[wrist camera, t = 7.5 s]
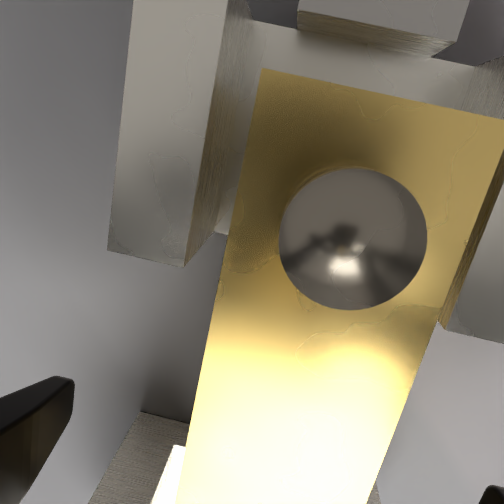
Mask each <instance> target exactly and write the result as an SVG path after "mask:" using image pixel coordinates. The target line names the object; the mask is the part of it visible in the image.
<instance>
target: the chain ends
mask: <svg viewBox="0 0 504 504" xmlns="http://www.w3.org/2000/svg"><path fill="white" fill-rule="evenodd" d="M469 2H470V0H299V4H298V8H297V29H293V28H288V27H283V26H279V25H274V24H269V23H264V22H260V21H255V20H253V18H252V15H251V12H250V9H249V7H248V4H247V1H246V0H133V10H132V19H131V29H130V38H129V47H128V57H127V66H126V76H125V85H124V95H123V104H122V113H121V123H120V132H119V142H118V151H117V160H116V170H115V179H114V189H113V198H112V208H111V217H110V226H109V236H108V245H107V250H109V251H113V252H117V253H121V254H126V255H130V256H134V257H138V258H143V259H147V260H151V261H155V262H160V263H164V264H168V265H172V266H176V267H181V268H183V267H184V266H185V265H186V264H187V263H188V262H189V260H190V259H191V258H192V257H193V256H194V254H195V253H196V252H197V251H198V250H199V249H200V247H201V246H202V245H203V244H204V243H205V242H206V240H207V239H208V238H209V237H210V236H211V234H212V233H213V232H217V233H221V234H226V235H228V234H229V229H230V224H231V219H232V214H233V209H234V204H235V199H236V194H237V189H238V184H239V179H240V174H241V169H242V164H243V159H244V154H245V149H246V144H247V139H248V134H249V129H250V124H251V119H252V114H253V109H254V104H255V99H256V94H257V89H258V84H259V79H260V74H261V69H262V68H266V69H271V70H275V71H280V72H284V73H289V74H294V75H298V76H303V77H308V78H312V79H317V80H322V81H326V82H331V83H335V84H340V85H345V86H349V87H354V88H359V89H363V90H368V91H372V92H377V93H382V94H386V95H391V96H396V97H400V98H405V99H410V100H414V101H419V102H423V103H428V104H433V105H437V106H442V107H447V108H451V109H456V110H460V111H465V112H470V113H474V114H479V115H484V116H488V117H493V118H497V119H502V120H504V56H502V57H499V58H497V59H494V60H492V61H489V62H486V63H484V64H481V65H478V66H476V67H474V66H469V65H465V64H460V63H455V62H450V61H446V60H441V59H436V58H431V56H433V55H435V54H437V53H438V52H440V51H442V50H443V49H445V48H447V47H449V46H450V45H452V44H454V43H455V42H457V38H458V35H459V32H460V29H461V26H462V23H463V20H464V17H465V14H466V11H467V8H468V5H469ZM437 320H438V321H439V323H440V324H441V325H442V327H443V328H444V329H445V330H447V331H452V332H456V333H460V334H464V335H469V336H473V337H477V338H481V339H486V340H490V341H494V342H498V343H502V344H504V150H503V152H502V155H501V157H500V160H499V162H498V165H497V168H496V170H495V173H494V175H493V178H492V180H491V183H490V186H489V188H488V191H487V193H486V196H485V198H484V201H483V204H482V206H481V209H480V211H479V214H478V216H477V219H476V222H475V224H474V227H473V229H472V232H471V234H470V237H469V240H468V242H467V245H466V247H465V250H464V252H463V255H462V258H461V260H460V263H459V265H458V268H457V271H456V273H455V276H454V278H453V281H452V283H451V286H450V289H449V291H448V294H447V296H446V299H445V301H444V304H443V307H442V309H441V312H440V314H439V317H438V319H437ZM189 428H190V424H187V423H183V422H179V421H175V420H171V419H167V418H163V417H159V416H155V415H151V414H147V413H143V412H139V414H138V415H137V417H136V419H135V421H134V423H133V424H132V426H131V428H130V430H129V431H128V433H127V435H126V437H125V438H124V440H123V442H122V444H121V446H120V447H119V449H118V451H117V453H116V454H115V456H114V458H113V460H112V462H111V463H110V465H109V467H108V469H107V470H106V472H105V474H104V476H103V477H102V479H101V481H100V483H99V485H98V486H97V488H96V490H95V492H94V493H93V495H92V497H91V499H90V501H89V502H88V504H174V503H175V498H176V493H177V488H178V483H179V478H180V473H181V468H182V463H183V458H184V453H185V448H186V443H187V438H188V433H189ZM366 504H381V502H380V498H379V494H378V489H377V485H376V481H375V482H374V484H373V487H372V489H371V492H370V494H369V497H368V500H367V502H366Z"/></svg>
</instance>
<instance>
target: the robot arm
mask: <svg viewBox="0 0 504 504" xmlns="http://www.w3.org/2000/svg"><path fill="white" fill-rule="evenodd" d="M74 389H75V384H74V381H73V380H72V379H69V378H65V377H61V376H53V377H50V378H48V379H45V380H43V381H40V382H38V383H35V384H33V385H30V386H28V387H26V388H23V389H21V390H18V391H16V392H13V393H11V394H8V395H6V396H3V397H1V398H0V504H19V503H20V502H21V501H22V499H23V498H24V496H25V495H26V493H27V492H28V490H29V489H30V487H31V486H32V484H33V482H34V481H35V479H36V477H37V476H38V474H39V472H40V470H41V469H42V467H43V465H44V464H45V462H46V460H47V458H48V457H49V455H50V453H51V452H52V450H53V448H54V446H55V445H56V443H57V441H58V440H59V438H60V436H61V434H62V433H63V431H64V429H65V428H66V426H67V424H68V422H69V420H70V418H71V415H72V411H73V400H74ZM479 504H504V487H500V486H496V485H490V486H488V487H487V488H486V490H485V492H484V494H483V496H482V498H481V500H480V502H479Z"/></svg>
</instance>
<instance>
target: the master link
mask: <svg viewBox="0 0 504 504" xmlns="http://www.w3.org/2000/svg"><path fill="white" fill-rule="evenodd" d="M503 150H504V120H502V119H497V118H493V117H488V116H484V115H479V114H474V113H470V112H465V111H460V110H456V109H451V108H447V107H442V106H437V105H433V104H428V103H423V102H419V101H414V100H410V99H405V98H400V97H396V96H391V95H386V94H382V93H377V92H372V91H368V90H363V89H359V88H354V87H349V86H345V85H340V84H335V83H331V82H326V81H322V80H317V79H312V78H308V77H303V76H298V75H294V74H289V73H284V72H280V71H275V70H271V69H266V68H262V69H261V74H260V79H259V84H258V89H257V94H256V99H255V104H254V109H253V114H252V119H251V124H250V129H249V134H248V139H247V144H246V149H245V154H244V159H243V164H242V169H241V174H240V179H239V184H238V189H237V194H236V199H235V204H234V209H233V214H232V219H231V224H230V229H229V234H228V238H227V243H226V248H225V253H224V258H223V263H222V268H221V273H220V278H219V283H218V288H217V293H216V298H215V303H214V308H213V313H212V318H211V323H210V328H209V333H208V338H207V343H206V348H205V353H204V358H203V363H202V368H201V373H200V378H199V383H198V388H197V393H196V398H195V403H194V408H193V413H192V418H191V423H190V428H189V433H188V438H187V443H186V448H185V453H184V458H183V463H182V468H181V473H180V478H179V483H178V488H177V493H176V498H175V503H174V504H366V502H367V500H368V497H369V494H370V492H371V489H372V487H373V484H374V482H375V479H376V476H377V474H378V471H379V469H380V466H381V464H382V461H383V458H384V456H385V453H386V451H387V448H388V446H389V443H390V440H391V438H392V435H393V433H394V430H395V428H396V425H397V422H398V420H399V417H400V415H401V412H402V410H403V407H404V404H405V402H406V399H407V397H408V394H409V392H410V389H411V386H412V384H413V381H414V379H415V376H416V373H417V371H418V368H419V366H420V363H421V361H422V358H423V355H424V353H425V350H426V348H427V345H428V343H429V340H430V337H431V335H432V332H433V330H434V327H435V325H436V322H437V319H438V317H439V314H440V312H441V309H442V307H443V304H444V301H445V299H446V296H447V294H448V291H449V289H450V286H451V283H452V281H453V278H454V276H455V273H456V271H457V268H458V265H459V263H460V260H461V258H462V255H463V252H464V250H465V247H466V245H467V242H468V240H469V237H470V234H471V232H472V229H473V227H474V224H475V222H476V219H477V216H478V214H479V211H480V209H481V206H482V204H483V201H484V198H485V196H486V193H487V191H488V188H489V186H490V183H491V180H492V178H493V175H494V173H495V170H496V168H497V165H498V162H499V160H500V157H501V155H502V152H503Z"/></svg>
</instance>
